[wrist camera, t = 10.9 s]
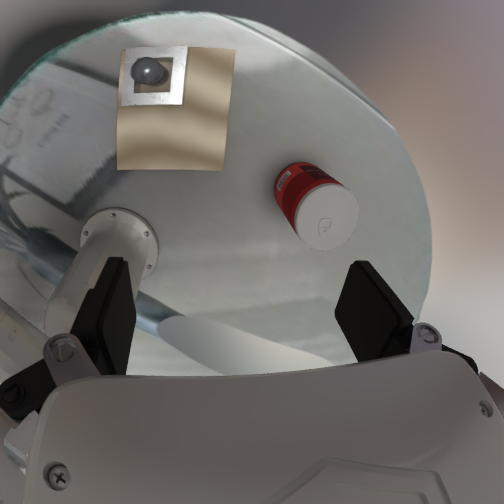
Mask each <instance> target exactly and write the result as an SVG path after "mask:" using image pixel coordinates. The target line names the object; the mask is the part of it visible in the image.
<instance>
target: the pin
mask: <svg viewBox="0 0 504 504" xmlns="http://www.w3.org/2000/svg"><path fill="white" fill-rule="evenodd" d="M131 77H132V78H133V80H134V81H136V82H137V83H141V84H145V85H150V86H154V87H159V86H162V85H164V84H165V83H166V82H167V81H168V79H169V71H168V69H167V68H166V67H164V66H163V65H162V64H160V63H159V62H158V61H156V60H155V59H154V58H151V57H142V58H140V59H138V60H137V61H135V62H134V64H133V65H132V67H131Z"/></svg>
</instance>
